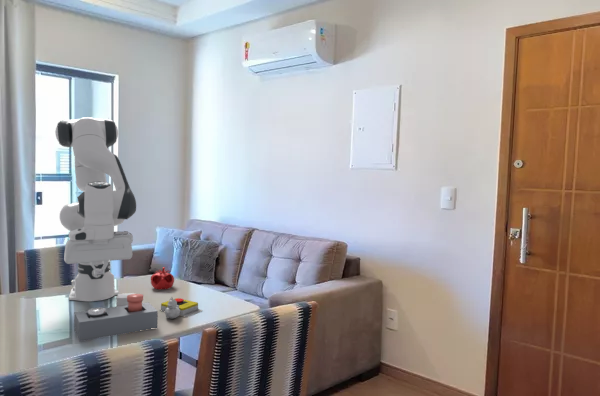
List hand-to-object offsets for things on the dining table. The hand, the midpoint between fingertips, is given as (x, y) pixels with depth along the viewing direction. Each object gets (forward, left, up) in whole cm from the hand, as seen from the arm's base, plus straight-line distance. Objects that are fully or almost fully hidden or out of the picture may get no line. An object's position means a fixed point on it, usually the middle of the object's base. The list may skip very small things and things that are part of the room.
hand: (99, 274), depth 153 cm
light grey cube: (-18, +12, -19) cm, 29 cm away
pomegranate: (-43, +33, -19) cm, 58 cm away
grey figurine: (-3, +25, -19) cm, 32 cm away
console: (0, +5, -19) cm, 20 cm away
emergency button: (-10, +30, -20) cm, 37 cm away
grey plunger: (0, -1, -17) cm, 17 cm away
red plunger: (0, +11, -13) cm, 18 cm away
